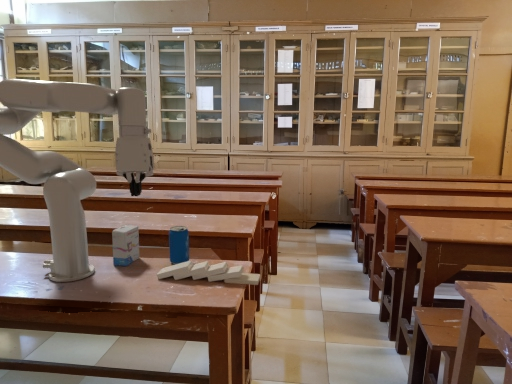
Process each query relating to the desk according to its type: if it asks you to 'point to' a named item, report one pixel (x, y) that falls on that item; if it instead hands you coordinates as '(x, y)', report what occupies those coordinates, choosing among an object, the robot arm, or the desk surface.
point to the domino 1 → (175, 269)
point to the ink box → (125, 245)
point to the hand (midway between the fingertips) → (136, 195)
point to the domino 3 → (212, 270)
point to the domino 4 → (228, 273)
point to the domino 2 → (193, 270)
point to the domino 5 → (245, 279)
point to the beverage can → (179, 244)
